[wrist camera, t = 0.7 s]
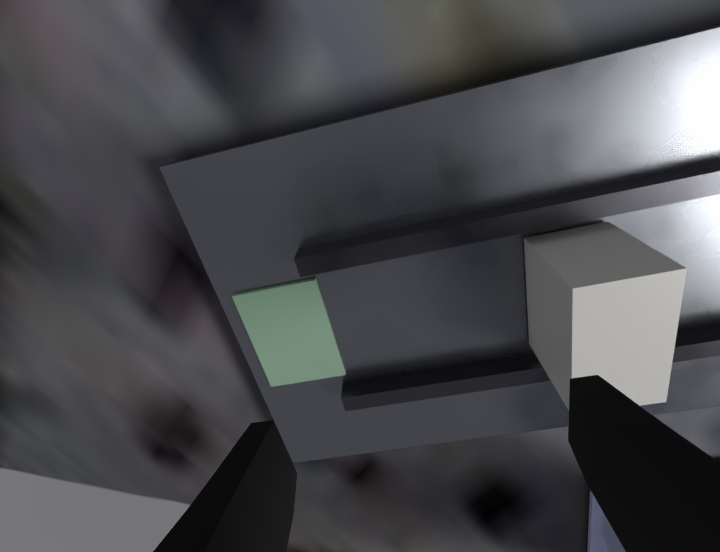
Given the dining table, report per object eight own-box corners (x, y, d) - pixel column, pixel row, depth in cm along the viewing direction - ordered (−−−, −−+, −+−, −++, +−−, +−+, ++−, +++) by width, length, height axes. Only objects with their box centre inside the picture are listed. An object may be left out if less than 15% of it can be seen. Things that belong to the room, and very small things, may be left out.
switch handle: (602, 332, 16) (666, 402, 13) (528, 343, 17) (571, 415, 13) (607, 221, 14) (687, 268, 11) (523, 237, 15) (572, 288, 11)
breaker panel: (855, 361, 18) (920, 399, 16) (298, 439, 22) (289, 480, 20) (1027, -53, 12) (1183, -86, 9) (177, 159, 15) (144, 173, 13)
